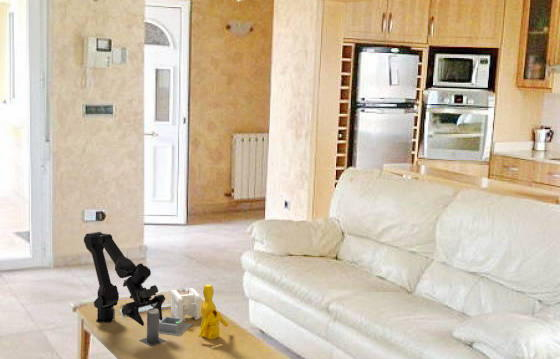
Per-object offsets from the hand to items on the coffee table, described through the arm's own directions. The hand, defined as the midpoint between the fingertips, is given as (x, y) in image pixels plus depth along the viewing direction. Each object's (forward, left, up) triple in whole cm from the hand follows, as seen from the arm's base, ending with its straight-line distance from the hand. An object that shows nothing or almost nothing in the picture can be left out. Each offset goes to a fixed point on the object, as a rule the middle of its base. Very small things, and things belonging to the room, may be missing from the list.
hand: (152, 322), depth 275 cm
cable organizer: (+7, +30, -8) cm, 32 cm away
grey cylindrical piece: (0, 0, -8) cm, 8 cm away
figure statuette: (+22, +10, -8) cm, 26 cm away
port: (+4, +15, -8) cm, 17 cm away
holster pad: (0, 0, -8) cm, 8 cm away
